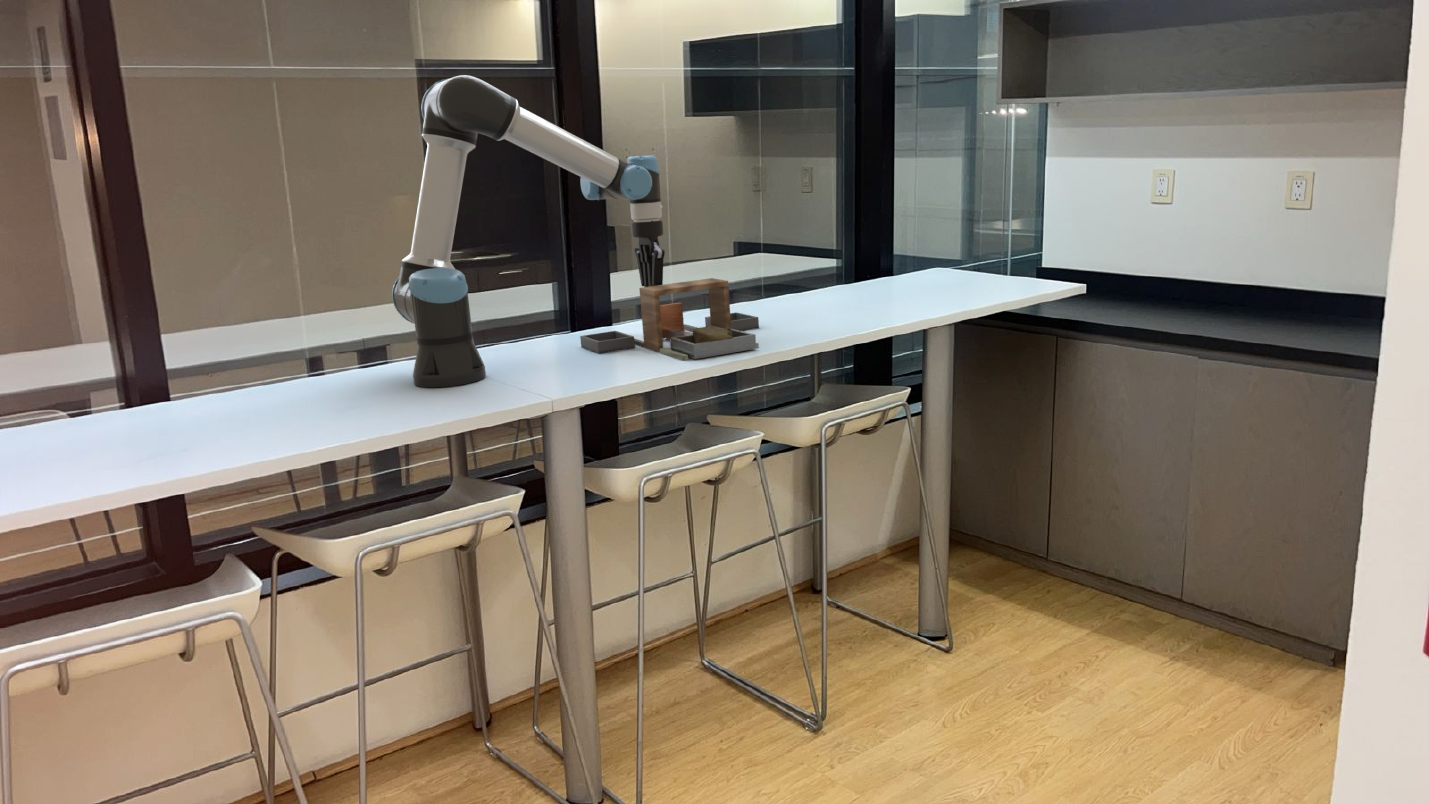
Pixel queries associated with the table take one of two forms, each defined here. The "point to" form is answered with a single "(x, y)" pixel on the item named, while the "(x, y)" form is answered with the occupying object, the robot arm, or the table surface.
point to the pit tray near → (607, 342)
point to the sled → (685, 343)
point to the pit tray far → (739, 321)
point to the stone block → (710, 334)
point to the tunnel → (654, 328)
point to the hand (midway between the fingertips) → (654, 315)
